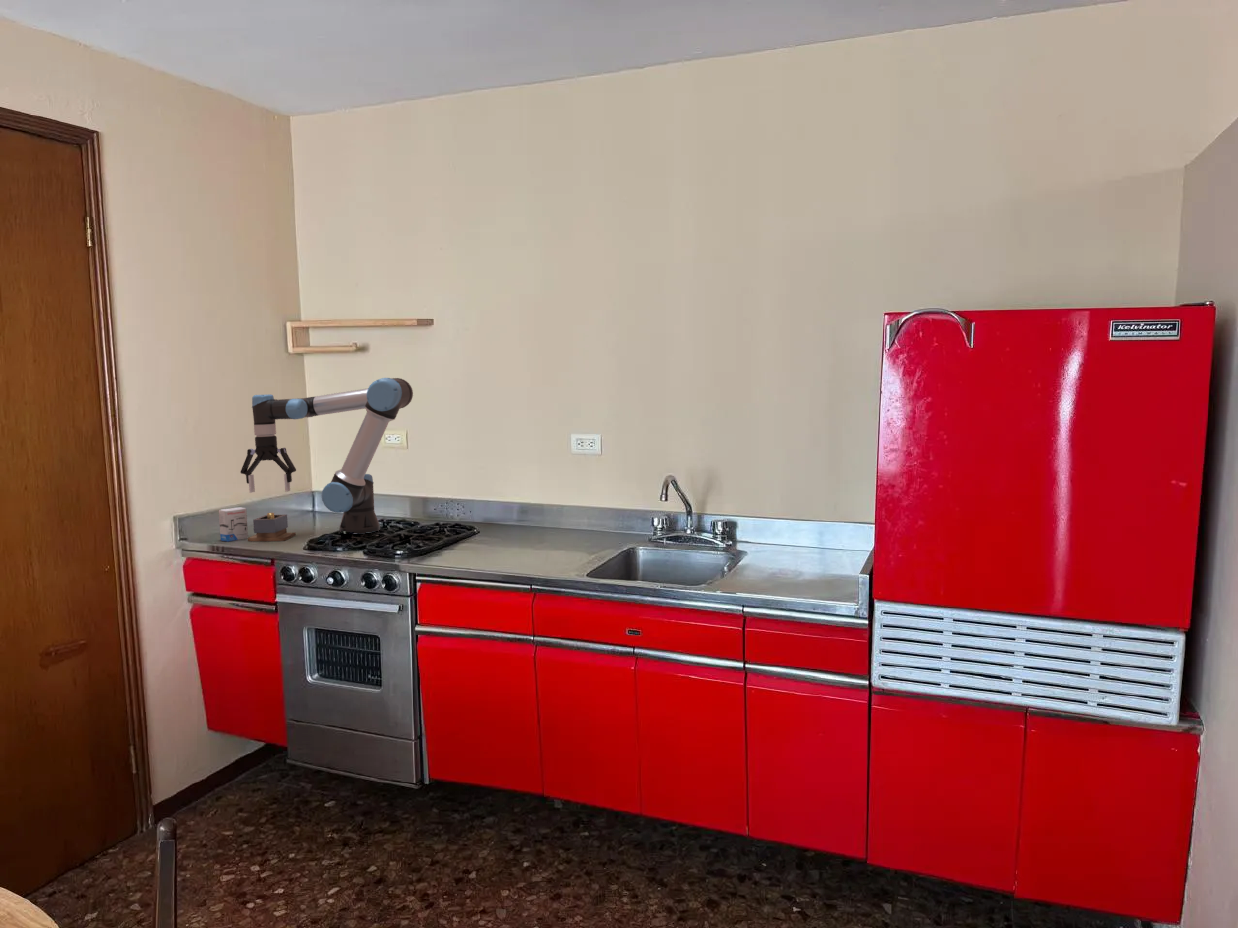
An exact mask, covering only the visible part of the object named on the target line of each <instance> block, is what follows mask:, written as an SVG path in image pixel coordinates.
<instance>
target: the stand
mask: <svg viewBox="0 0 1238 928" xmlns="http://www.w3.org/2000/svg"><path fill="white" fill-rule="evenodd" d="M287 529H288V528H285V529H283V530H280V531H278V532H276V533H255V534H254V535H251V536H250V537H249V536H248V538H247V542H283V541H284V542H285V541H288V540H289V539H291V538H294V537H296V536H297V534H296V533H297V532H287V531H288V530H287Z"/></svg>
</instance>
